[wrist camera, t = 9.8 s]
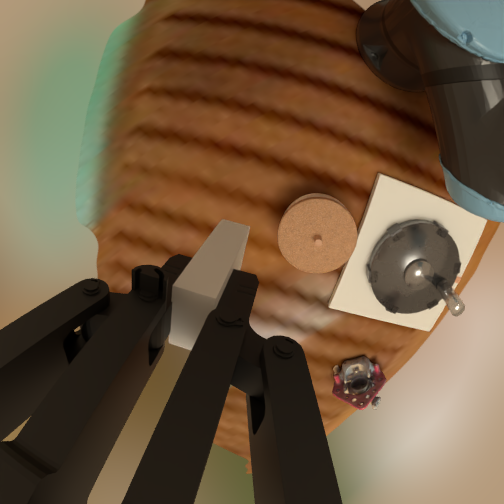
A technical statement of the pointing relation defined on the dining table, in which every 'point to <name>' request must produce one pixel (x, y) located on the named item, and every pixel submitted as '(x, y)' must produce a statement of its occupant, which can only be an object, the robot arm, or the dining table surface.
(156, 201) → the dining table surface
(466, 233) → the base board
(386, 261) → the notched disc with hub
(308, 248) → the lidded jar
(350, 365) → the grey maroon spiky lump
